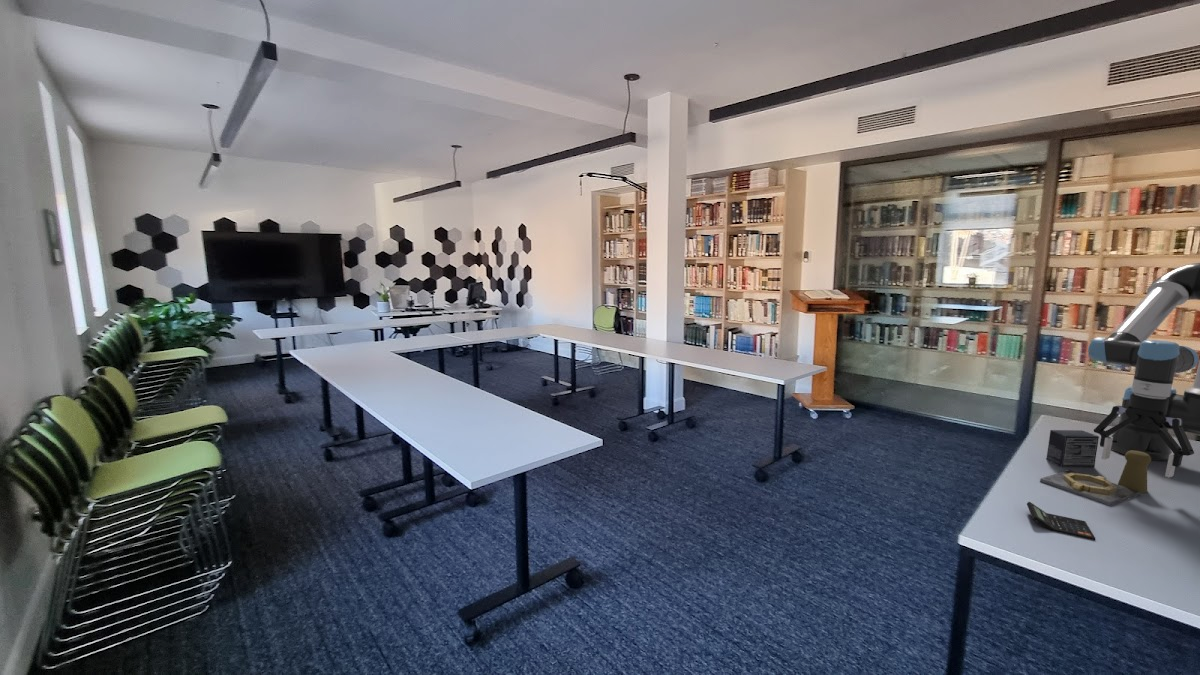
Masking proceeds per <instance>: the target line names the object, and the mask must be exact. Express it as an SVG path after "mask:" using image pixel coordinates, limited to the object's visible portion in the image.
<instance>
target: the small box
mask: <svg viewBox="0 0 1200 675" xmlns="http://www.w3.org/2000/svg"><path fill="white" fill-rule="evenodd" d="M1099 439H1100V436H1099V435H1096V434H1093V433H1091V432H1088V431H1084V430H1081V429H1080V430H1075V429H1072V430H1068V429H1050V432H1049V438H1048V445H1047V451H1046V458H1045V460H1046V461H1048V462H1051V463H1052V464H1055V465H1056V466H1058V467H1060V468H1095V466H1096V458H1097V452H1098V445H1099Z"/></svg>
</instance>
